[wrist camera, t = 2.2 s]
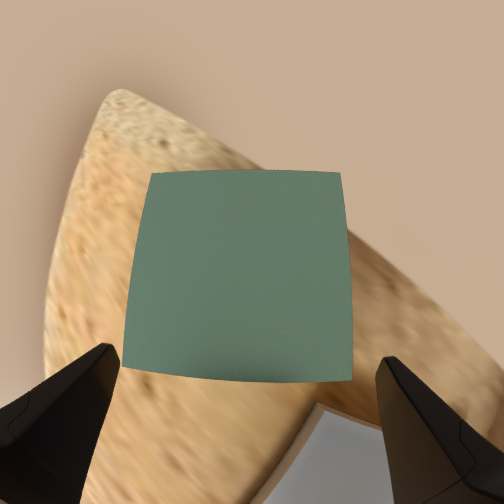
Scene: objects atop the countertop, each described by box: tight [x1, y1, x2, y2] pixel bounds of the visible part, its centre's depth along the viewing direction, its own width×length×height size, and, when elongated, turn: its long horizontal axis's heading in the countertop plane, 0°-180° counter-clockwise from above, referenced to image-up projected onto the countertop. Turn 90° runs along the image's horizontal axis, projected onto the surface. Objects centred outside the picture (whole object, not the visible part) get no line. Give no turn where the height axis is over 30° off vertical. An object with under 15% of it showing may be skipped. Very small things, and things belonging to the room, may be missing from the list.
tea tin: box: [122, 170, 353, 383], centre depth 12 cm, size 5×5×13 cm
